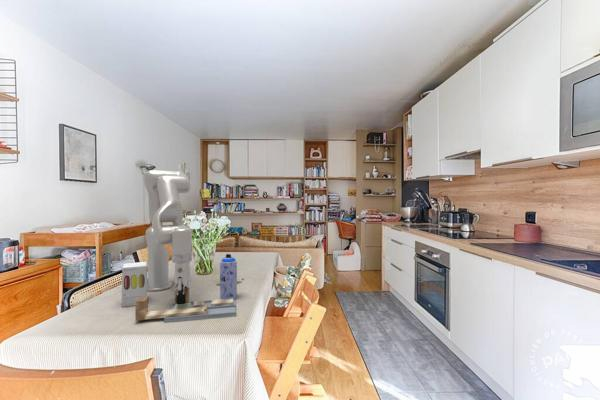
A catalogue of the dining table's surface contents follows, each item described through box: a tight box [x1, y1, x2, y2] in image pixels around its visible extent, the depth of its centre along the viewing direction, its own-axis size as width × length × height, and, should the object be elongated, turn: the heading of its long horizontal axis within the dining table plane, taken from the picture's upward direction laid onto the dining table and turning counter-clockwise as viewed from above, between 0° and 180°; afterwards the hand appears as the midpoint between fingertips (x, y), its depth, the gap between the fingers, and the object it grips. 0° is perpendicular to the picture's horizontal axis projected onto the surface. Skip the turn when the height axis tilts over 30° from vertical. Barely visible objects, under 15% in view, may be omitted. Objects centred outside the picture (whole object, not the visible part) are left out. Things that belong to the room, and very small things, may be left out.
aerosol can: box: [219, 253, 238, 300], centre depth 134 cm, size 8×8×20 cm
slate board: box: [163, 298, 237, 324], centre depth 118 cm, size 26×16×1 cm, turn 103°
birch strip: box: [134, 295, 208, 322], centre depth 112 cm, size 25×5×7 cm, turn 103°
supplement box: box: [121, 261, 148, 308], centre depth 127 cm, size 10×9×17 cm
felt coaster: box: [173, 303, 191, 310], centre depth 120 cm, size 6×6×1 cm
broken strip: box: [193, 299, 233, 308], centre depth 123 cm, size 16×5×1 cm, turn 103°
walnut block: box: [174, 287, 190, 304], centre depth 120 cm, size 5×5×5 cm
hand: (182, 301), depth 120 cm, fingers closed on walnut block, 4 cm apart
